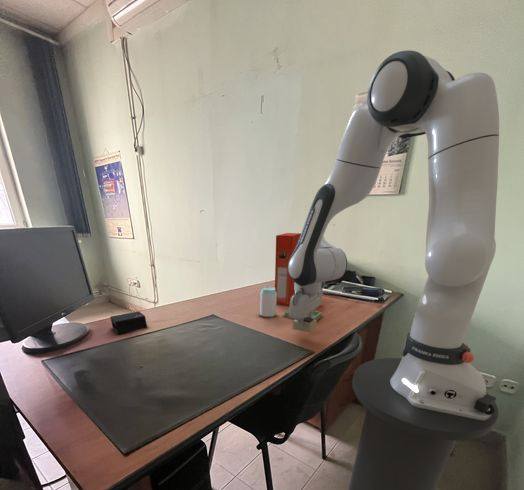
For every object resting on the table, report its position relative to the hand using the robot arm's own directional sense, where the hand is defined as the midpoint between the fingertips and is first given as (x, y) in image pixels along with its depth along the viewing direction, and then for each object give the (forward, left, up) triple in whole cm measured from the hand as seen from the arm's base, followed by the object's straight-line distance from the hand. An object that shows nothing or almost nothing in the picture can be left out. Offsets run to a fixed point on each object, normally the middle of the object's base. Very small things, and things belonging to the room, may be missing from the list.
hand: (304, 324), depth 102 cm
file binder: (+28, -41, -6) cm, 50 cm away
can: (+24, -15, -6) cm, 29 cm away
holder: (+10, -22, -6) cm, 25 cm away
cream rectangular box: (0, 0, -2) cm, 2 cm away
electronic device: (+61, +28, -6) cm, 67 cm away
